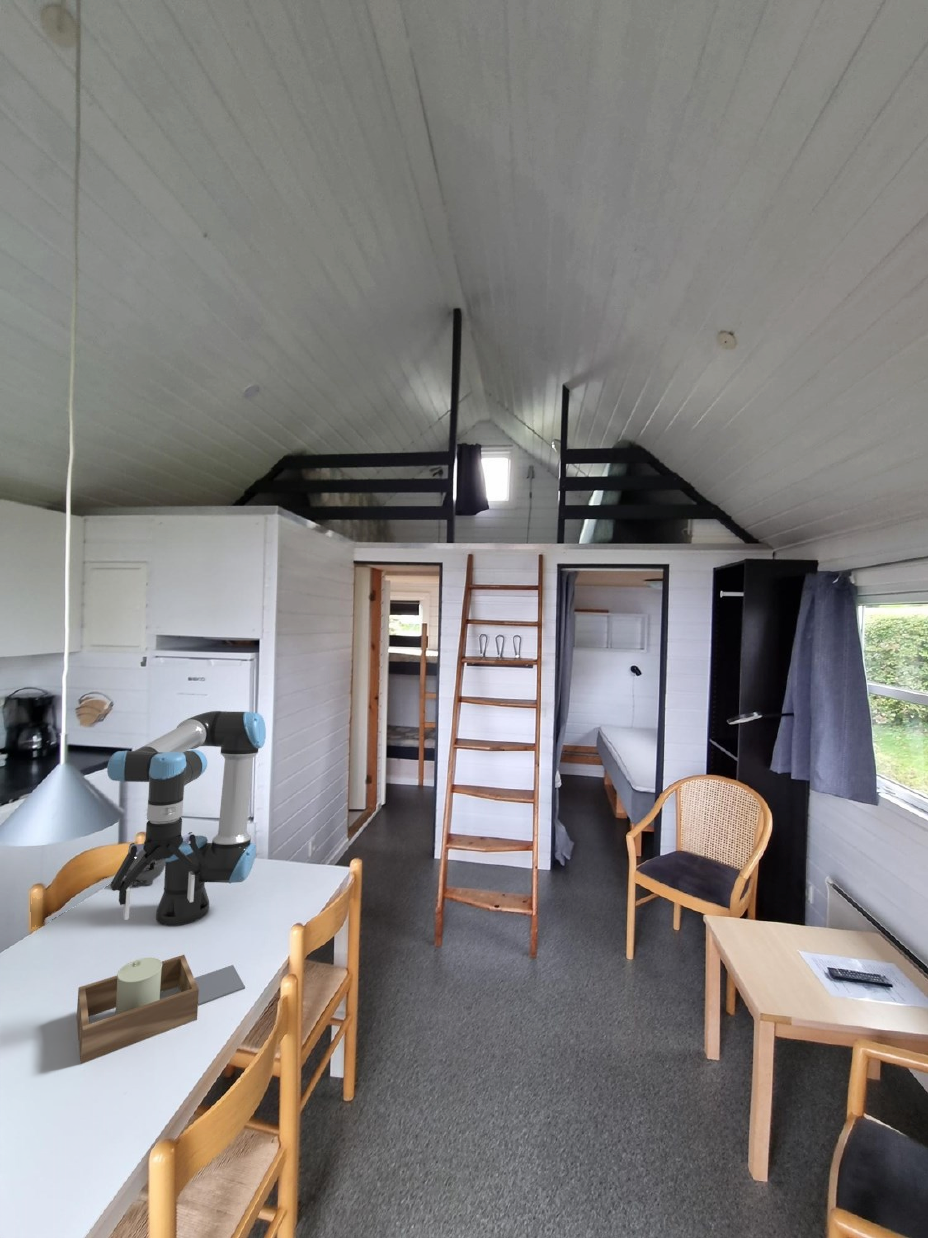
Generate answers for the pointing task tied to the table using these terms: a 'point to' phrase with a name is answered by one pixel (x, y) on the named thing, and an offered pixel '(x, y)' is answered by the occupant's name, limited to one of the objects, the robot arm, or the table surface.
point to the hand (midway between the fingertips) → (159, 908)
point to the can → (138, 984)
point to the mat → (218, 984)
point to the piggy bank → (147, 870)
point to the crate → (134, 1012)
